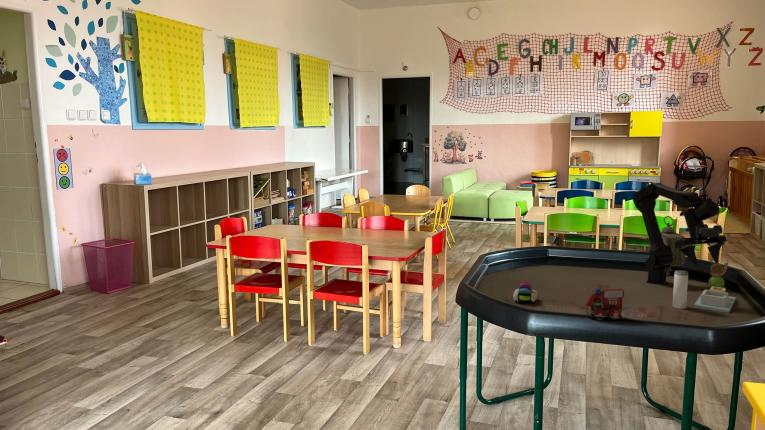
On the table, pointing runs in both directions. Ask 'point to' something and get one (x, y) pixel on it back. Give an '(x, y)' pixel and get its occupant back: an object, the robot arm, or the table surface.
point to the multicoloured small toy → (525, 292)
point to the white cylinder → (680, 289)
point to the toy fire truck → (605, 302)
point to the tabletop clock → (672, 244)
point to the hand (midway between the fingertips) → (706, 264)
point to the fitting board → (715, 300)
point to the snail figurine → (717, 275)
